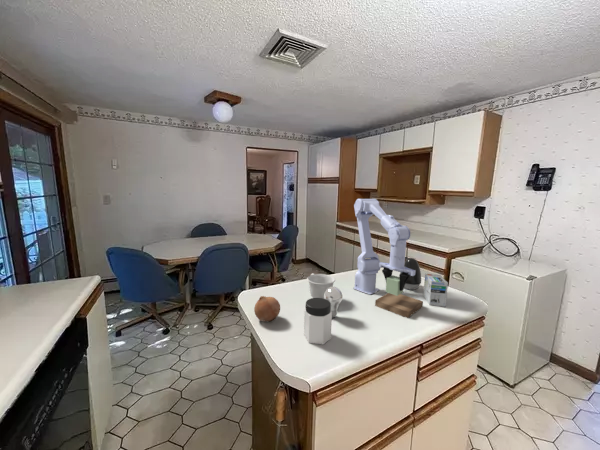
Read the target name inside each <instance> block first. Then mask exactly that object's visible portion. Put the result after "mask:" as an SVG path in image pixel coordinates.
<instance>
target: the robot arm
mask: <svg viewBox="0 0 600 450" xmlns="http://www.w3.org/2000/svg"><path fill="white" fill-rule="evenodd" d="M353 208H354V214H355V218H356V220H357V221H356V223H357V228H358V236H359V242H360V248H361V253H360V254H359V255H358V257H357V269H358V270H357V271H356V272H355V275H354V286H353V290H357V291H359V292H362V293H364V294H367V295H373V294H374V293H377V292H378V291H380V289H379V288H376V286H377V274H378V273H379V271H382V275H383V276H384V279H385V281H386V280H387V278H388V277H390V276H392V275H393V272H398V273H399V276H398V277H400V291H402V290H403V291H404V289H405V288H404V286H405V284H406V282H407V280H408V278H409V277H410V275H411V276H414V275H415V271H416V270H412V269H410V268H407V267H404V264H405V261H406V259H405V257H406V250H407V241H408V240H409V239H410V238H411V230H410V228H409V226H407V225H403V224H401V223H400V222H398V220H397V219H395V216H394V215H393V214H392V215H391V214H387V213H386V212H385V210H384V209H383V208H382V207H381V205H380V202H379V200H378V199H376V198H357V199H356V200H355V202H354V204H353ZM373 215H374V216H375V217H376V218H378V220H380V225H381V226H382V228H383V229H384V230H385V232H387V235H388V239H389V245H390V250H389V251H390V252H389V262H382V261H381V260H380V259H379V255H378V254H377V253H376V252H375V251H374V248H373V242H372V235H371V229H370V223H369V219H370V218H371V217H373ZM381 268H383V269H381ZM400 272H401V273H402V274H400Z"/></svg>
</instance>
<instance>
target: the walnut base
mask: <svg viewBox="0 0 600 450" xmlns="http://www.w3.org/2000/svg"><path fill="white" fill-rule="evenodd" d="M423 306H424V301H423V300H420V299H417V298H414V297H412V296H411V297H410V296H408V295H404V294H403V293H401V294H399V295H398V296H396V295H393V294H390V293H387V292H386V293H385V294H384V295H382V296H380V297H379V298H377V299H375V301H374V307H377V308H380V309H383V310H385V311H388V312H391V313H393V314H396V315H399V316H401V317H403V318H406V319H409V318H411V316H412V315H414V314H416V313H417V312H418V311H420V310H421V309H422V308H423Z"/></svg>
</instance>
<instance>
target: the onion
mask: <svg viewBox="0 0 600 450" xmlns="http://www.w3.org/2000/svg"><path fill="white" fill-rule="evenodd" d="M253 310H254V311H253V312H254V314H255V317H256V318H257V320H259V321H260V322H261V321H262V322H264V323H265V322H266V323H268V322H269V323H272V322H273V321H276V319H277V318H278V316H279V315H280V311H281V304H280V302H279V300H278V299H276V297H273V296H264V295H262V296H261V295H260V297H259V299H258V300H257V301H256V303H255V305H254V308H253Z"/></svg>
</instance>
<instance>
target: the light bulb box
mask: <svg viewBox="0 0 600 450" xmlns="http://www.w3.org/2000/svg"><path fill="white" fill-rule="evenodd" d="M448 286H449V282H448V281H447V280H446V279H444V278H443V276H442V275H441V274H437V273H435V274H434V273H425V274H424V284H423V297H424V299H425V301H426V302H427V304H428V305H429V306H438V307H445V308H446V307H447V295H448V288H449V287H448Z"/></svg>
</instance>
